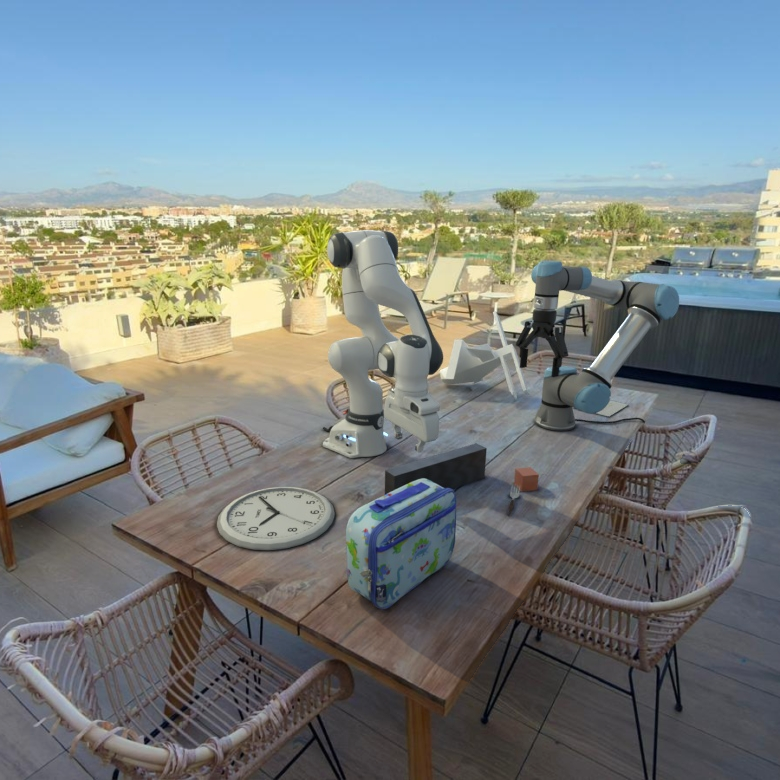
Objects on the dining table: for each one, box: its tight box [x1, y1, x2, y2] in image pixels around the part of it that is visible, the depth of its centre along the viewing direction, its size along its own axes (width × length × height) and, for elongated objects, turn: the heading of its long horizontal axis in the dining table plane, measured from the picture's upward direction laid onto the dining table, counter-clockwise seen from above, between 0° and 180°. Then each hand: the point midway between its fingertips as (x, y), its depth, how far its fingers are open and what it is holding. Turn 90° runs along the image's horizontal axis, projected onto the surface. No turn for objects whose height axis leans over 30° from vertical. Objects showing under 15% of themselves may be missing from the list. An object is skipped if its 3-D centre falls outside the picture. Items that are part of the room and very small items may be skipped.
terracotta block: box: [513, 466, 540, 492], centre depth 154 cm, size 5×5×5 cm
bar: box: [384, 442, 488, 495], centre depth 151 cm, size 34×4×10 cm, turn 125°
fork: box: [507, 483, 521, 517], centre depth 145 cm, size 3×16×2 cm, turn 160°
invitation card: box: [595, 400, 629, 418], centre depth 226 cm, size 21×1×15 cm
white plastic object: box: [438, 310, 531, 400], centre depth 245 cm, size 37×45×31 cm
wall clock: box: [216, 486, 336, 551], centre depth 136 cm, size 30×2×30 cm
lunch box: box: [345, 478, 457, 610], centre depth 110 cm, size 26×11×21 cm, turn 134°
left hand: (408, 444), depth 143 cm, fingers open, 8 cm apart
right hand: (538, 371), depth 178 cm, fingers open, 13 cm apart
